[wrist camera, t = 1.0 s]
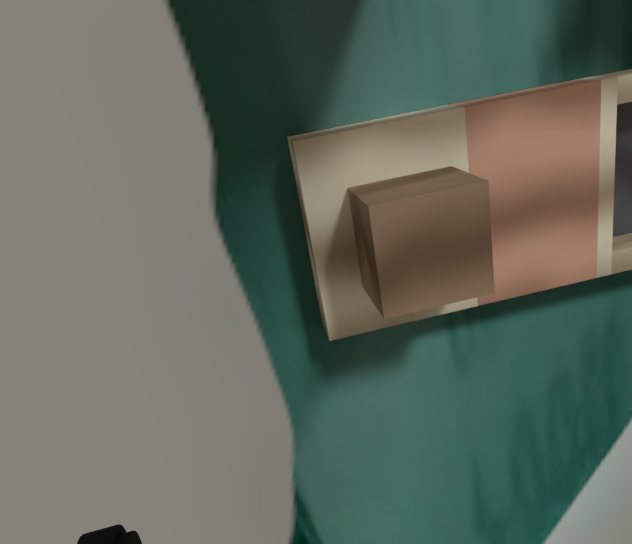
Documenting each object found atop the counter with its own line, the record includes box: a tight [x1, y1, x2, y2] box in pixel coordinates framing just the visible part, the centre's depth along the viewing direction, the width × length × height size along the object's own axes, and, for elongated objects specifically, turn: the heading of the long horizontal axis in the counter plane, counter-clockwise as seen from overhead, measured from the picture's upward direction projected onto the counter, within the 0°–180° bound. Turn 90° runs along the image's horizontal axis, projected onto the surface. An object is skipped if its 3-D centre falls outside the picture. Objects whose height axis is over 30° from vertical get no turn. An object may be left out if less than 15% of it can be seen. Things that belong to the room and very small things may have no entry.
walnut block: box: [348, 166, 495, 319], centre depth 29 cm, size 6×6×4 cm
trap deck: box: [287, 68, 632, 341], centre depth 33 cm, size 12×27×2 cm, turn 100°
